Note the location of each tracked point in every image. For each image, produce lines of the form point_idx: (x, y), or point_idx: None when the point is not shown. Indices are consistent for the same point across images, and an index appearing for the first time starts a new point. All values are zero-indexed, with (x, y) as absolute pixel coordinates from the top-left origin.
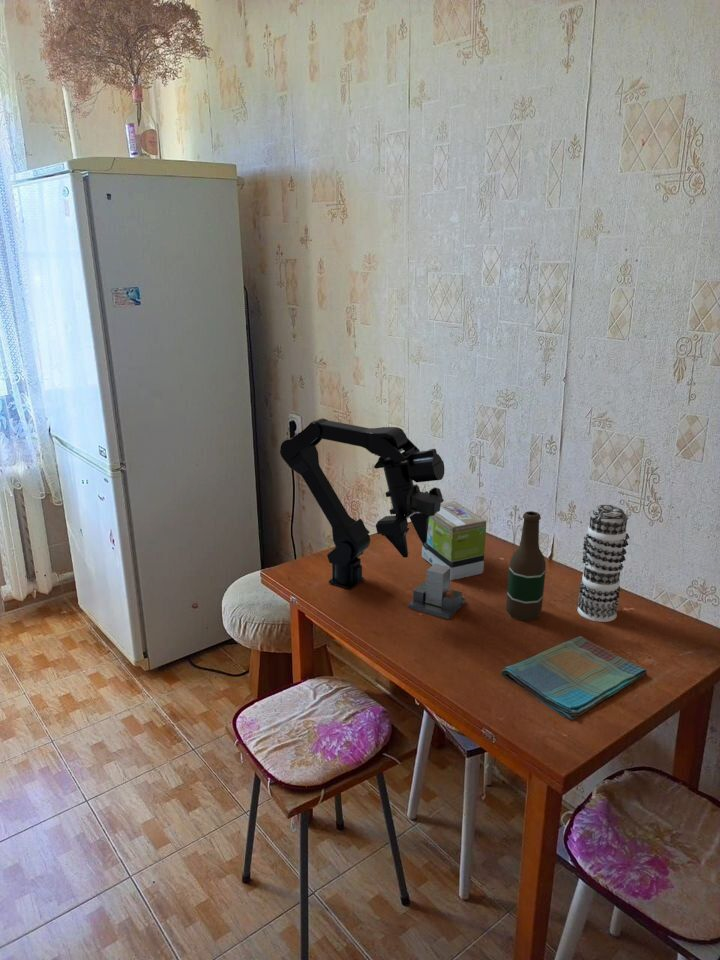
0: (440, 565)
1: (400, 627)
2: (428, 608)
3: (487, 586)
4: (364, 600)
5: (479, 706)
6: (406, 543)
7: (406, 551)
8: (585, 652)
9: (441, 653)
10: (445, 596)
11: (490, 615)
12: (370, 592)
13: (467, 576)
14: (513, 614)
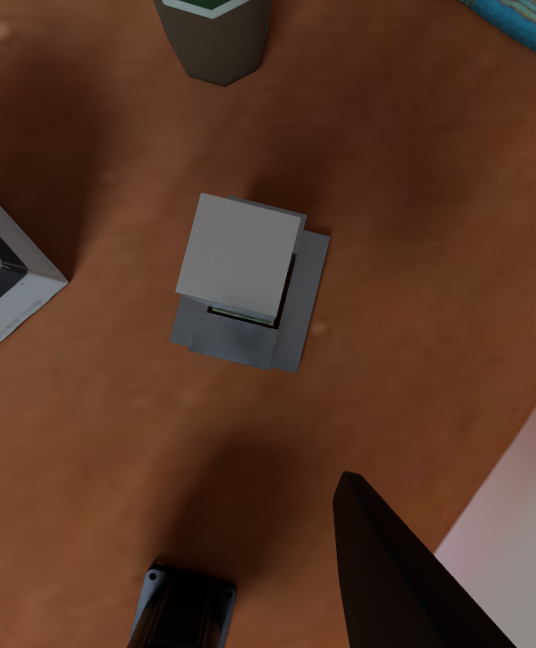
0: (191, 253)
1: (413, 364)
2: (305, 305)
3: (77, 162)
4: (290, 515)
5: None
6: (458, 645)
7: (401, 524)
8: None
9: (507, 226)
10: None
11: (262, 130)
12: (232, 513)
13: (25, 234)
14: (260, 52)
